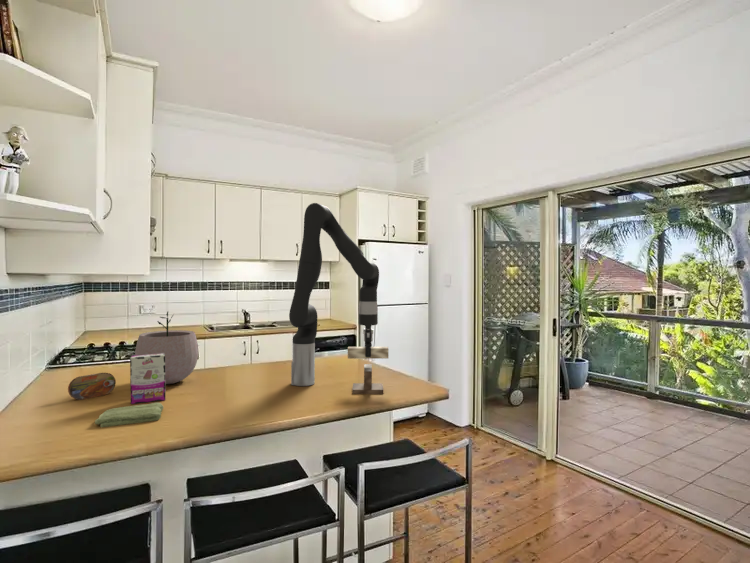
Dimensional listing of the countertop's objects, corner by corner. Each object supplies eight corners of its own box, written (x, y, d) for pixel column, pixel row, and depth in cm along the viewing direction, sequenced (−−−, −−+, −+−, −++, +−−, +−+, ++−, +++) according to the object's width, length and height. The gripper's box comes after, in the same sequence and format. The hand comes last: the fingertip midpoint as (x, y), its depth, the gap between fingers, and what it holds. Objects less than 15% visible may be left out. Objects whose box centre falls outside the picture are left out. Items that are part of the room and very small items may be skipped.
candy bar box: (165, 397, 159) (165, 352, 159) (165, 400, 155) (165, 355, 154) (130, 400, 154) (130, 355, 154) (129, 404, 149) (130, 357, 149)
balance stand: (352, 393, 166) (352, 369, 166) (353, 386, 176) (353, 363, 176) (383, 393, 166) (383, 369, 166) (382, 387, 176) (382, 363, 176)
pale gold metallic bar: (387, 356, 173) (388, 346, 173) (388, 358, 169) (388, 348, 169) (348, 356, 173) (348, 346, 173) (347, 358, 169) (347, 348, 169)
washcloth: (102, 416, 138) (102, 406, 138) (163, 410, 145) (163, 400, 145) (93, 429, 126) (93, 419, 126) (160, 422, 133) (160, 412, 133)
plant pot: (127, 382, 181) (127, 310, 180) (186, 373, 197) (186, 308, 197) (145, 393, 163) (145, 314, 163) (207, 383, 180) (207, 311, 179)
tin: (70, 402, 152) (70, 378, 152) (66, 400, 154) (66, 377, 154) (116, 393, 164) (116, 371, 164) (112, 391, 166) (112, 370, 166)
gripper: (378, 314, 163) (378, 359, 164) (377, 311, 178) (377, 352, 178) (358, 314, 163) (358, 359, 163) (359, 311, 178) (359, 352, 178)
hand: (368, 355), depth 171 cm, fingers closed on pale gold metallic bar, 4 cm apart
